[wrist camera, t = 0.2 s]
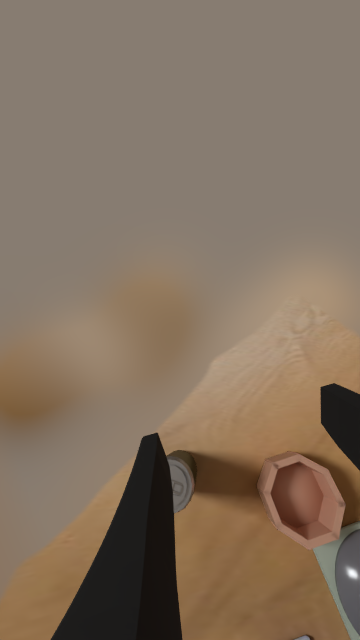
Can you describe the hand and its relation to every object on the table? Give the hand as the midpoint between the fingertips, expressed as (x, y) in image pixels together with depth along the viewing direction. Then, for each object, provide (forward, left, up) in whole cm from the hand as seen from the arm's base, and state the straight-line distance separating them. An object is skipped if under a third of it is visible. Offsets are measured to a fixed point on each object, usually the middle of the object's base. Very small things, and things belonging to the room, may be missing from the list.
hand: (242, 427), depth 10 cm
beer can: (-4, +7, -32) cm, 33 cm away
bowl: (-11, -8, -31) cm, 34 cm away
